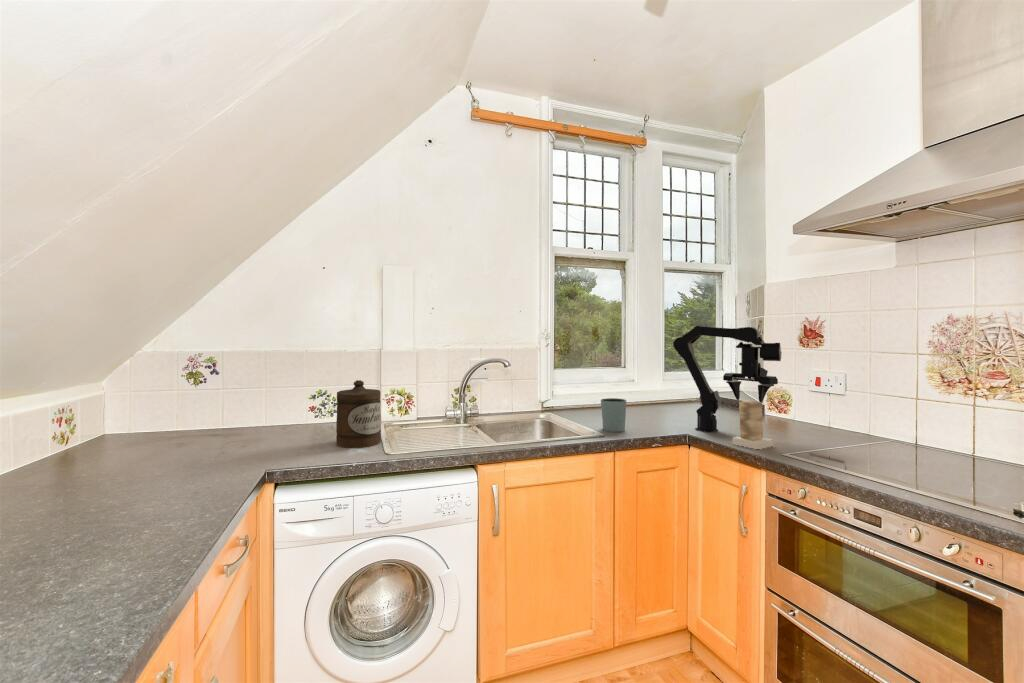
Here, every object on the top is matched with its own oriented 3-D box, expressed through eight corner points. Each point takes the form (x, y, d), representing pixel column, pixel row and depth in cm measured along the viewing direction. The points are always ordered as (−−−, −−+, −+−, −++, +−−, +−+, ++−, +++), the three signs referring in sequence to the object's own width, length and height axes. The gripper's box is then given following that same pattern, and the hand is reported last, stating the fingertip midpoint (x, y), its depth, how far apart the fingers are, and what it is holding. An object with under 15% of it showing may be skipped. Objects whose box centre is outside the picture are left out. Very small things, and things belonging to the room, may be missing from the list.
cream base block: (732, 446, 167) (732, 437, 166) (747, 442, 171) (747, 434, 171) (757, 451, 159) (757, 442, 159) (772, 448, 164) (772, 439, 164)
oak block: (740, 437, 166) (739, 401, 166) (750, 435, 168) (749, 400, 168) (752, 440, 162) (751, 403, 162) (763, 438, 164) (761, 402, 164)
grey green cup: (624, 433, 184) (625, 402, 184) (598, 431, 188) (598, 400, 187) (627, 427, 194) (627, 398, 194) (602, 426, 197) (602, 397, 197)
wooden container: (355, 450, 157) (355, 383, 156) (327, 444, 165) (327, 380, 164) (389, 441, 169) (389, 379, 169) (362, 436, 177) (361, 377, 177)
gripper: (786, 360, 176) (785, 403, 177) (739, 358, 192) (739, 396, 193) (769, 361, 170) (768, 405, 171) (722, 359, 186) (722, 398, 187)
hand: (749, 401), depth 180 cm, fingers open, 9 cm apart
